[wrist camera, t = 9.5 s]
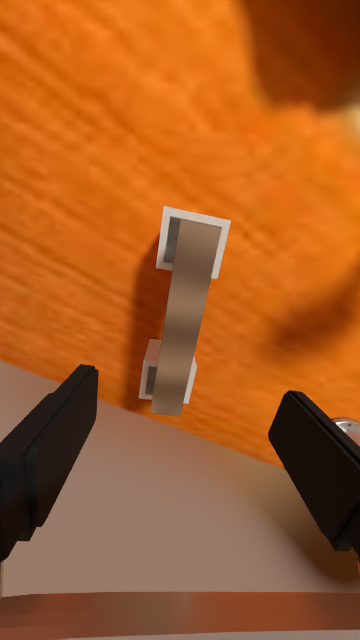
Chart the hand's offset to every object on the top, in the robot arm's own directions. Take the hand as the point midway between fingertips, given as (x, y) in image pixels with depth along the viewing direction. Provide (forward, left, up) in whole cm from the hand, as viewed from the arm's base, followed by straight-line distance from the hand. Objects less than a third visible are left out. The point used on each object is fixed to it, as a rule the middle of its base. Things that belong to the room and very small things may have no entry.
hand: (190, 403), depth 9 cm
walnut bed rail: (0, 0, -16) cm, 16 cm away
